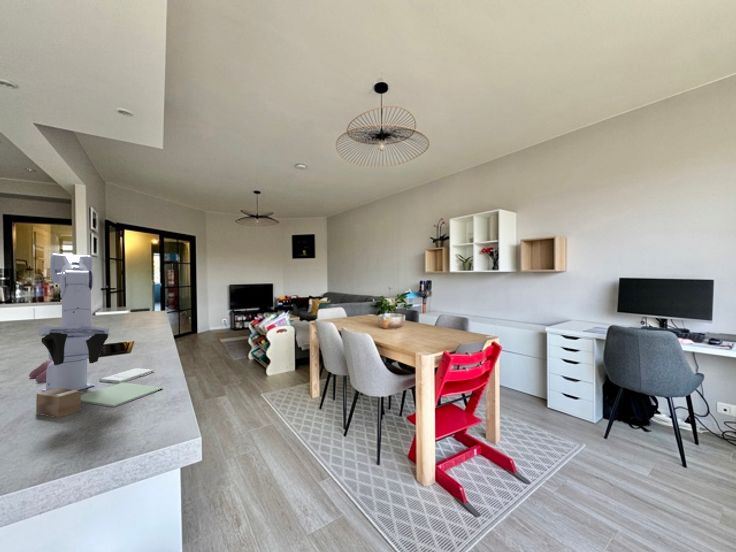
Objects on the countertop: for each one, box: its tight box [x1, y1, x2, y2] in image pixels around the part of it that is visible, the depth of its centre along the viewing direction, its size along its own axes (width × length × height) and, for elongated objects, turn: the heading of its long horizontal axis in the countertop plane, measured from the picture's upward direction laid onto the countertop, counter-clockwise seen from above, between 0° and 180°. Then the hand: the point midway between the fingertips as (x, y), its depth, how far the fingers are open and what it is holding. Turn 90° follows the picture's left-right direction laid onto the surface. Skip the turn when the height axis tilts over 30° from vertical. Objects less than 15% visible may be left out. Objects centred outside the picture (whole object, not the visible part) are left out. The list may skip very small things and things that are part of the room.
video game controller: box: [28, 359, 53, 383], centre depth 103 cm, size 10×5×7 cm, turn 58°
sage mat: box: [81, 382, 163, 408], centre depth 89 cm, size 16×14×1 cm
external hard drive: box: [98, 367, 155, 384], centre depth 106 cm, size 2×8×12 cm
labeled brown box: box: [35, 388, 82, 418], centre depth 77 cm, size 8×4×5 cm, turn 75°
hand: (77, 363), depth 79 cm, fingers open, 7 cm apart
